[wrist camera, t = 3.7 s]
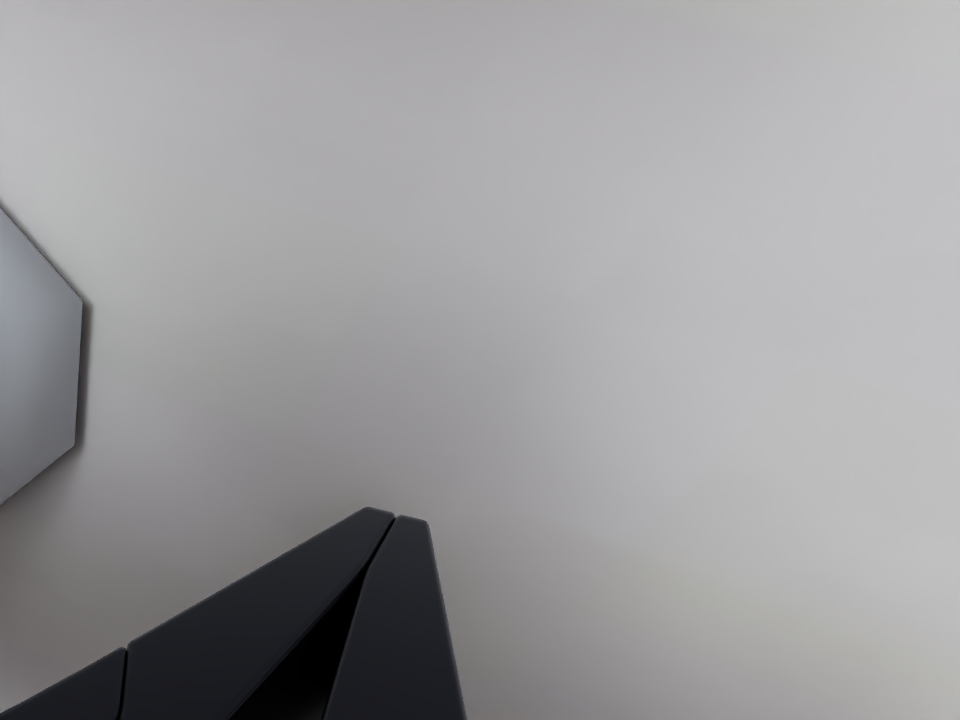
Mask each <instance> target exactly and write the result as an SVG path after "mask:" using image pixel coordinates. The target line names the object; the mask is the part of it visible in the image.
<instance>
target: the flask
mask: <svg viewBox="0 0 960 720" xmlns="http://www.w3.org/2000/svg"><path fill="white" fill-rule="evenodd" d="M82 304H83V301H82V300H81V299H80V298H79V296H78V295H77V294H76V293H75V292H74V291H73V290H72V289H71V287H70V286H69V285H68V284H67V283H66V282H65V281H64V279H63V278H62V277H61V276H60V275H59V274H58V273H57V272H56V270H55V269H54V268H53V267H52V266H51V265H50V264H49V262H48V261H47V260H46V259H45V258H44V257H43V256H42V255H41V253H40V252H39V251H38V250H37V249H36V248H35V247H34V245H33V244H32V243H31V242H30V241H29V240H28V239H27V238H26V236H25V235H24V234H23V233H22V232H21V231H20V230H19V228H18V227H17V226H16V225H15V224H14V223H13V222H12V221H11V219H10V218H9V217H8V216H7V215H6V214H5V213H4V212H3V210H2V209H1V208H0V505H1V504H2V503H3V502H5V501H6V500H7V499H8V498H9V497H11V496H12V495H13V494H14V493H16V492H17V491H18V490H19V489H21V488H22V487H23V486H24V485H26V484H27V483H28V482H29V481H31V480H32V479H33V478H34V477H36V476H37V475H38V474H39V473H41V472H42V471H43V470H44V469H46V468H47V467H48V466H49V465H50V464H52V463H53V462H54V461H55V460H57V459H58V458H59V457H60V456H62V455H63V454H64V453H65V452H67V451H68V450H69V449H70V448H72V447H73V446H74V444H75V427H76V409H77V391H78V374H79V356H80V339H81V321H82Z"/></svg>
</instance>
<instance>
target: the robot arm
mask: <svg viewBox="0 0 960 720" xmlns="http://www.w3.org/2000/svg"><path fill="white" fill-rule="evenodd" d="M0 720H467V717H466V711H465V706H464V701H463V696H462V691H461V686H460V681H459V676H458V671H457V666H456V661H455V656H454V651H453V646H452V641H451V636H450V630H449V625H448V620H447V615H446V610H445V605H444V600H443V595H442V590H441V585H440V580H439V575H438V570H437V565H436V560H435V555H434V549H433V544H432V539H431V534H430V529H429V525H428V523H427V522H426V521H424V520H421V519H416V518H412V517H408V516H404V515H400V516H398V517H397V518H396V517H395V515H394V513H392V512H388V511H384V510H380V509H376V508H372V507H366V508H363V509H361V510H359V511H358V512H356V513H354V514H352V515H351V516H349V517H347V518H345V519H344V520H342V521H340V522H338V523H337V524H335V525H333V526H331V527H330V528H328V529H326V530H324V531H323V532H321V533H319V534H317V535H316V536H314V537H312V538H311V539H309V540H307V541H305V542H304V543H302V544H300V545H298V546H297V547H295V548H293V549H291V550H290V551H288V552H286V553H284V554H283V555H281V556H279V557H277V558H276V559H274V560H272V561H270V562H269V563H267V564H265V565H263V566H262V567H260V568H258V569H257V570H255V571H253V572H251V573H250V574H248V575H246V576H244V577H243V578H241V579H239V580H237V581H236V582H234V583H232V584H230V585H229V586H227V587H225V588H223V589H222V590H220V591H218V592H216V593H215V594H213V595H211V596H209V597H208V598H206V599H204V600H203V601H201V602H199V603H197V604H196V605H194V606H192V607H190V608H189V609H187V610H185V611H183V612H182V613H180V614H178V615H176V616H175V617H173V618H171V619H169V620H168V621H166V622H164V623H162V624H161V625H159V626H157V627H155V628H154V629H152V630H150V631H149V632H147V633H145V634H143V635H142V636H140V637H138V638H136V639H135V640H133V641H131V642H130V643H129V644H128V647H127V650H126V648H124V647H121V648H118V649H117V650H115V651H113V652H111V653H110V654H108V655H106V656H104V657H103V658H101V659H99V660H97V661H96V662H94V663H92V664H90V665H89V666H87V667H85V668H83V669H82V670H80V671H78V672H76V673H74V674H73V675H71V676H69V677H67V678H65V679H63V680H62V681H60V682H58V683H56V684H54V685H52V686H51V687H49V688H47V689H45V690H43V691H41V692H40V693H38V694H36V695H34V696H32V697H30V698H29V699H27V700H25V701H23V702H21V703H20V704H18V705H16V706H14V707H12V708H10V709H8V710H6V711H4V712H2V713H0Z"/></svg>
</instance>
